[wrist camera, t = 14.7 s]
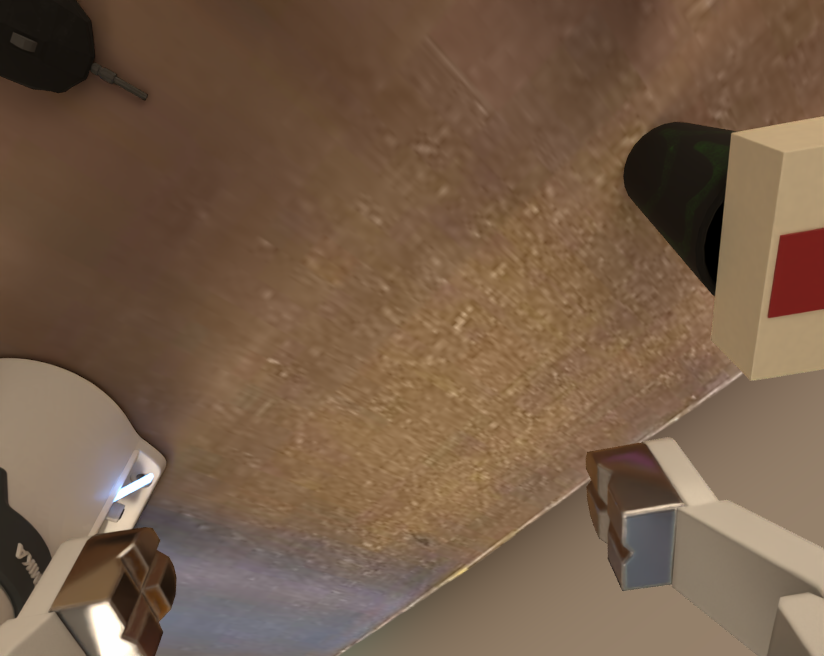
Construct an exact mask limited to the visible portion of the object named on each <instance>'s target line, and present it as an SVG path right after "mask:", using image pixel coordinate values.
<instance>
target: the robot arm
mask: <svg viewBox="0 0 824 656" xmlns="http://www.w3.org/2000/svg"><path fill="white" fill-rule="evenodd" d="M165 468H166V460H165V458H164V457H163V455H162V454H161V453H160V452H159V451H158V450H156V449H155V448H154V447H153V446H151V445H150V444H149V443H147V442H146V441H145V440H143V439H142V438H141V437H140V436H139V435H138V434H137V432H136V431H135V430H134V428H133V427H132V425H131V423H130V422H129V420H128V418H127V417H126V415H125V414H124V413H123V411H122V410H121V409H120V407H119V406H118V405H117V404H116V403H115V402H114V401H113V400H112V399H111V398H110V397H109V396H108V395H107V394H106V393H104V392H103V391H102V390H101V389H99V388H98V387H97V386H95V385H94V384H92V383H91V382H89V381H87V380H86V379H84V378H82V377H80V376H78V375H76V374H74V373H72V372H70V371H68V370H65V369H63V368H60V367H57V366H54V365H51V364H47V363H44V362H39V361H34V360H28V359H19V358H0V656H155V654H156V651H157V649H158V646H159V643H160V640H161V637H162V634H163V631H162V628H161V626H160V624H159V621H160V620H161V619H162V618H163V617H164V616H165V615H166V614H167V613H168V612H169V611H170V610H171V608H172V604H173V601H174V598H175V595H176V574H175V569H174V566H173V564H172V562H171V560H170V558H169V557H168V556H166V555H165V554H163V553H161V552H159V551H158V550H157V547H158V545H159V542H160V539H159V538H158V536H157V534H156V533H155V531H154V529H153V528H148V527H143V528H136V529H133V528H134V527H135V525H136V523H137V521H138V519H139V517H140V515H141V513H142V511H143V510H144V508H145V506H146V504H147V502H148V500H149V498H150V496H151V494H152V493H153V491H154V489H155V487H156V485H157V483H158V481H159V479H160V477H161V476H162V474H163V472H164V470H165ZM586 470H587V472H588V474H589V476H590V478H591V481H590V483H589V484H588V486H587V501H588V506H589V511H590V516H591V519H592V522H593V525H594V528H595V530H596V533H597V535H598V537H599V539H601V540H602V541H604V542H605V543H607V544H608V560H609V562H610V565H611V567H612V569H613V571H614V573H615V576H616V578H617V580H618V582H619V585H620V587H621V589H622V591H626V590H633V589H640V588H648V587H655V586H663V585H670V584H672V587H673V588H674V589H676V590H677V591H678V592H679V593H680V594H682V595H683V596H684V597H685V598H687V599H688V600H689V601H690V602H692V603H693V604H694V605H695V606H697V607H698V608H699V609H700V610H702V611H703V612H704V613H705V614H707V615H708V616H709V617H711V618H712V619H713V620H714V621H715V622H717V623H718V624H719V625H720V626H722V627H723V628H724V629H725V630H727V631H728V632H729V633H730V634H731V635H733V636H734V637H735V638H736V639H738V640H739V641H740V642H741V643H743V644H744V645H745V646H746V647H748V648H749V649H750V650H751V651H753V652H754V653H755V654H756V655H758V656H824V548H822V547H820V546H818V545H816V544H814V543H812V542H810V541H808V540H806V539H804V538H802V537H800V536H798V535H796V534H794V533H792V532H791V531H788V530H787V529H784V528H782V527H781V526H779V525H777V524H775V523H773V522H771V521H769V520H767V519H765V518H763V517H761V516H759V515H757V514H755V513H753V512H751V511H749V510H747V509H745V508H743V507H741V506H739V505H737V504H735V503H733V502H731V501H729V500H723V501H719V500H718V499H717V497H716V496H715V494H714V493H713V492H712V490H711V489H710V488H709V486H708V485H707V484H706V482H705V481H704V479H703V478H702V477H701V475H700V474H699V473H698V471H697V470H696V469H695V467H694V466H693V464H692V463H691V462H690V460H689V459H688V458H687V456H686V455H685V453H684V452H683V451H682V450H681V448H680V447H679V445H678V444H677V443H676V441H675V440H674V439H672V438H670V437H666V438H661V439H655V440H650V441H644V442H642V443H635V444H629V445H623V446H618V447H612V448H607V449H601V450H595V451H590V452H587V455H586ZM143 474H144V475H143Z"/></svg>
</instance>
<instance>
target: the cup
mask: <svg viewBox="0 0 824 656" xmlns="http://www.w3.org/2000/svg"><path fill="white" fill-rule="evenodd" d="M734 132H736V131H731V130H725V129H719V128H713V127H707V126H701V125H695V124H690V123H680V122H673V123H668V124H663V125H661V126H659V127H657V128H654V129H652V130H651V131H650V132H648V133H647V134H645V135H644V136H643V137H642V138H641V139H640V140H639V141H638V142H637V143H636V144H635V146H634V147H633V149H632V151H631V152H630V154H629V156H628V158H627V161H626V164H625V168H624V176H623V177H624V185H625V188H626V191H627V193H628V196H629V197H630V198H631V199H632V200H633V202H634V203H635V204H636V205H637V206H638V208H639V209H640V210H641V211H642V212H643V213H644V215H645V216H646V217H647V218H648V219H649V221H650V222H651V223H652V224H653V225H654V226H655V228H656V229H657V230H658V231H659V232H660V233H661V235H662V236H663V237H664V238H665V239H666V241H667V242H668V243H669V244H670V245H671V246H672V248H673V249H674V250H675V251H676V252H677V254H678V255H679V256H680V257H681V258H682V259H683V261H684V262H685V263H686V264H687V265H688V266H689V268H690V269H691V270H692V271H693V272H694V274H695V275H696V276H697V277H698V278H699V279H700V281H701V282H702V283H703V284H704V285H705V287H706V288H707V289H708V290H709V291H710V292H711V294H712V295H714V296H715V291H716V282H717V272H718V262H719V252H720V242H721V232H722V222H723V212H724V202H725V192H726V182H727V172H728V162H729V152H730V142H731V134H732V133H734Z"/></svg>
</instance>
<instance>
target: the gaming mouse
mask: <svg viewBox="0 0 824 656" xmlns="http://www.w3.org/2000/svg"><path fill="white" fill-rule="evenodd" d="M94 58H95V53H94V43H93V33H92V23H91V20H90V19H89V18H88V16H87V15H86V14H85V12H84V11H83V9H82V8H81V7H80V5H79V4H78V3H77V1H76V0H0V76H1V77H4V78H6V79H9V80H11V81H14V82H16V83H19V84H21V85H24V86H26V87H29V88H31V89H36V90H45V91H52V92H56V93H61V92H66V91H67V90H68V89H70V88H71V87H73V86H75V85H77V84H78V83H80V82H82V81H84V80H86V79H87V76H88V74H89V71H90V70H91V72H92V73H94V74H95V75H100V78H101V79H103V80H105V81H107V82H109V83H110V84H113V83H115V84H116V85H118V86H120V87H122V88H124V89H125V90H127V91H129V92H131V93H132V94H134V95H136V96H138V97H139V98H141V99H143V100H146V98H147V96H148V94H146V93H144V92H142V91H141V90H139V89H137V88H135V87H134V86H132V85H130V84H128V83H127V82H125V81H123V80H121V79H120V78H118V77H117V74H115V73H114V72H112V71H110V70H108V69H107V68H104V69H103V68H102V67H101V66H100V65H99V64H97V63H93V61H94Z"/></svg>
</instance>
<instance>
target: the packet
mask: <svg viewBox="0 0 824 656" xmlns="http://www.w3.org/2000/svg"><path fill="white" fill-rule="evenodd" d="M711 341H712V342H713V343H714V344H715V345H716V346H717V347H718V348H719V349H720V350H721V351H722V352H723V353H724V354H725V355H726V356H727V357H728V358H729V359H730V360H731V361H732V362H733V363H734V364H735V365H736V366H737V367H738V368H739V369H740V370H741V371H742V372H743V373H744V375H745V376H746V377H748V379H749V380H751V381H753V380H760V379H766V378H773V377H779V376H784V375H791V374H797V373H803V372H809V371H816V370H822V369H824V116H822V117H817V118H811V119H806V120H800V121H795V122H789V123H784V124H778V125H772V126H767V127H761V128H756V129H750V130H745V131H739V132H734V133H732V134H731V142H730V152H729V162H728V172H727V182H726V192H725V202H724V212H723V222H722V232H721V242H720V252H719V262H718V272H717V282H716V291H715V301H714V311H713V321H712V331H711Z"/></svg>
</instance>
